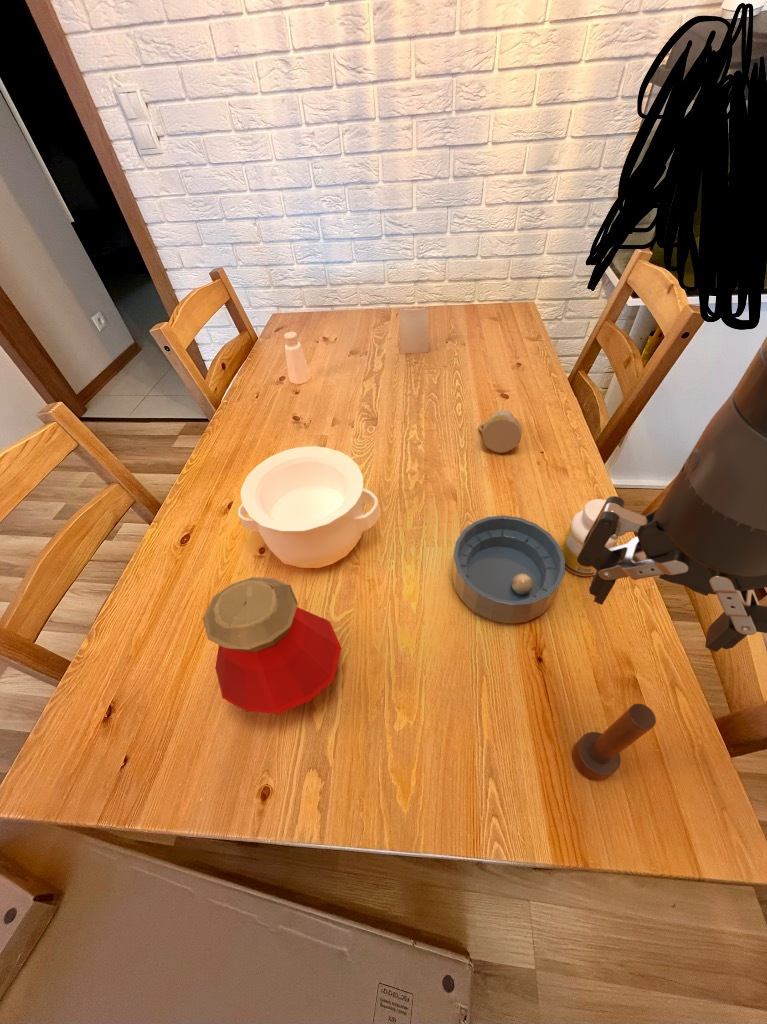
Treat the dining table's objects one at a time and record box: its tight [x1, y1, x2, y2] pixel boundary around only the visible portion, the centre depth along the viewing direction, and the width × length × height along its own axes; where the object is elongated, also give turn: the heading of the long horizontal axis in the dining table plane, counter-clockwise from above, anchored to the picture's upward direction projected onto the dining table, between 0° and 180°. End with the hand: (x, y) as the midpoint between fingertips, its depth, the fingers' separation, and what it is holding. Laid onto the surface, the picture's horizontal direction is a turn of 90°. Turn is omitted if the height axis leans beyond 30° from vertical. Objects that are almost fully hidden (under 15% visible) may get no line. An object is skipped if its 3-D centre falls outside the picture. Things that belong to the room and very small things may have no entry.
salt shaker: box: [283, 331, 312, 385], centre depth 104 cm, size 5×5×11 cm
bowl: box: [451, 514, 566, 624], centre depth 67 cm, size 15×15×6 cm
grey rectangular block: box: [398, 307, 430, 355], centre depth 110 cm, size 4×7×10 cm, turn 89°
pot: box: [237, 445, 381, 569], centre depth 72 cm, size 22×17×12 cm
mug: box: [477, 409, 523, 454], centre depth 88 cm, size 8×10×10 cm
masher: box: [571, 703, 657, 782], centre depth 47 cm, size 4×4×16 cm
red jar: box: [202, 576, 342, 715], centre depth 54 cm, size 16×14×20 cm
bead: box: [511, 573, 533, 594], centre depth 66 cm, size 3×3×3 cm
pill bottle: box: [560, 498, 621, 577], centre depth 66 cm, size 6×6×12 cm
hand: (652, 616), depth 38 cm, fingers open, 8 cm apart
